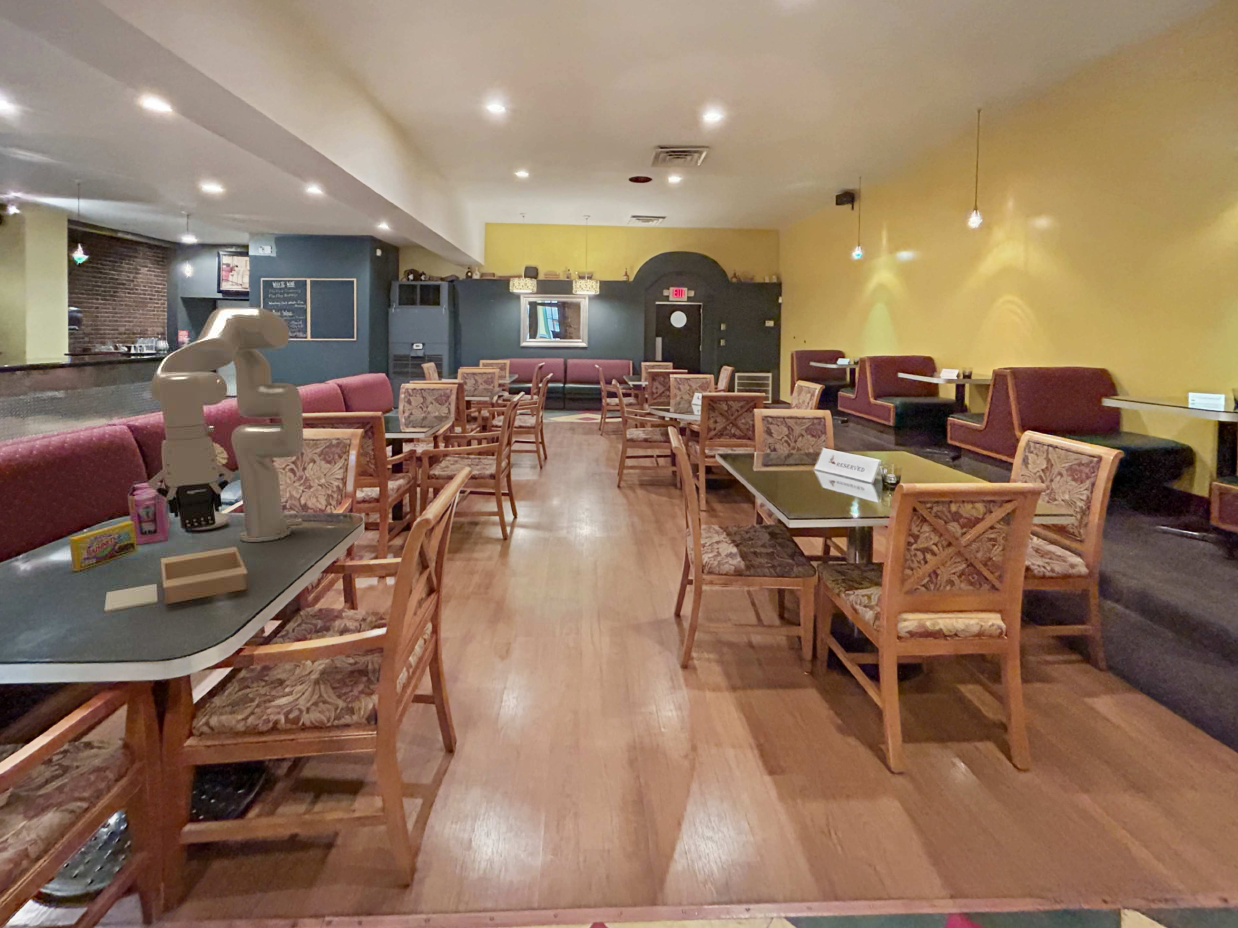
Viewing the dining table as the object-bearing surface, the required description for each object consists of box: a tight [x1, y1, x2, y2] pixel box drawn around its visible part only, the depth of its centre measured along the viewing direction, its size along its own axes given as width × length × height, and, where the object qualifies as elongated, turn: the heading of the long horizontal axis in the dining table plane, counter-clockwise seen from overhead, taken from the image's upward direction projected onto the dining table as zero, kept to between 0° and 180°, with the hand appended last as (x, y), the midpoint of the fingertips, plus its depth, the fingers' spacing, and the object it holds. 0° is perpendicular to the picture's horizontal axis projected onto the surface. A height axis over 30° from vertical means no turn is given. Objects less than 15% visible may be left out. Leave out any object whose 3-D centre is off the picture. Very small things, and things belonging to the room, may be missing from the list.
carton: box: [160, 546, 249, 605], centre depth 153 cm, size 15×22×5 cm
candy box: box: [69, 520, 138, 572], centre depth 172 cm, size 16×2×8 cm, turn 168°
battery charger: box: [175, 484, 216, 531], centre depth 151 cm, size 7×4×11 cm, turn 132°
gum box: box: [127, 478, 171, 545], centre depth 195 cm, size 24×8×14 cm, turn 31°
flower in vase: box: [191, 441, 230, 531], centre depth 200 cm, size 13×11×25 cm
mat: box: [103, 583, 159, 613], centre depth 147 cm, size 9×12×1 cm
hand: (196, 512), depth 151 cm, fingers closed on battery charger, 7 cm apart
